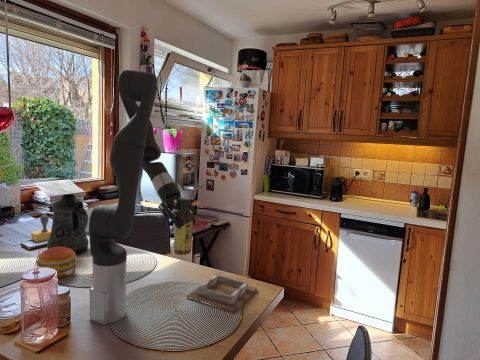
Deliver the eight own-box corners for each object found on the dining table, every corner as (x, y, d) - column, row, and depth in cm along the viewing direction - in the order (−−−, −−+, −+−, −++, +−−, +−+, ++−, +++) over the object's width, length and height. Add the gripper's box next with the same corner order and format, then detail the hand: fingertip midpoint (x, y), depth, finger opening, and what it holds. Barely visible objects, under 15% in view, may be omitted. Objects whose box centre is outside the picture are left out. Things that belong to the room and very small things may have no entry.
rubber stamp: (37, 242, 156) (36, 217, 154) (31, 239, 159) (30, 215, 157) (58, 237, 164) (58, 214, 162) (52, 235, 167) (51, 212, 165)
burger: (85, 271, 128) (84, 246, 127) (53, 285, 116) (53, 257, 114) (59, 264, 133) (59, 240, 132) (26, 277, 121) (26, 250, 119)
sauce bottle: (187, 256, 116) (190, 201, 113) (170, 254, 117) (172, 199, 114) (193, 250, 122) (196, 197, 120) (177, 248, 123) (180, 195, 121)
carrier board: (234, 313, 104) (234, 302, 104) (186, 298, 112) (187, 288, 112) (256, 290, 120) (257, 281, 120) (214, 278, 128) (214, 270, 128)
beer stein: (60, 242, 157) (60, 190, 154) (101, 245, 157) (101, 193, 153) (38, 255, 141) (37, 197, 137) (83, 258, 140) (83, 200, 137)
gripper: (155, 183, 115) (178, 223, 110) (185, 180, 127) (207, 216, 121) (145, 195, 119) (166, 235, 113) (175, 191, 130) (195, 227, 125)
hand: (187, 225), depth 117 cm, fingers closed on sauce bottle, 6 cm apart
